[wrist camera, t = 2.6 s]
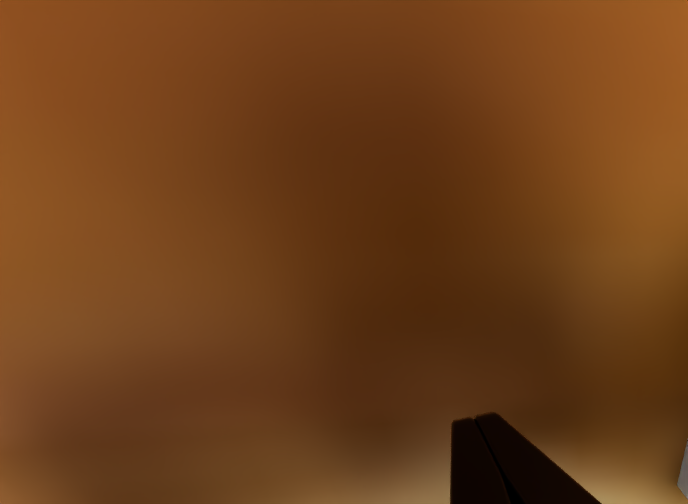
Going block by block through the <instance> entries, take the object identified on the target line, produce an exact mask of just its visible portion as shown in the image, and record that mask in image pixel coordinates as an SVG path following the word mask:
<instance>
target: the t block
mask: <svg viewBox="0 0 688 504" xmlns="http://www.w3.org/2000/svg"><path fill="white" fill-rule="evenodd" d="M677 486H678V487H679V489H680V490H681V491H682V493H683V494H684V495H685V496H686V498H687V499H688V440H687V444H686V449H685V453H684V457H683V462H682V466H681V470H680V474H679V479H678V483H677Z"/></svg>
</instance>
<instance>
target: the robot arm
mask: <svg viewBox="0 0 688 504" xmlns="http://www.w3.org/2000/svg"><path fill="white" fill-rule="evenodd" d="M450 504H601V503H600V502H599V501H598V500H597V499H596V498H595V497H593V496H592V495H591V494H590V493H589V492H588V491H586V490H585V489H584V488H583V487H582V486H581V485H580V484H578V483H577V482H576V481H575V480H574V479H573V478H571V477H570V476H569V475H568V474H567V473H566V472H565V471H563V470H562V469H561V468H560V467H559V466H558V465H556V464H555V463H554V462H553V461H552V460H551V459H550V458H548V457H547V456H546V455H545V454H544V453H543V452H541V451H540V450H539V449H538V448H537V447H536V446H534V445H533V444H532V443H531V442H530V441H529V440H528V439H526V438H525V437H524V436H523V435H522V434H521V433H519V432H518V431H517V430H516V429H515V428H514V427H513V426H511V425H510V424H509V423H508V422H507V421H506V420H504V419H503V418H502V417H501V416H500V415H499V414H497V413H495V412H489V413H484V414H480V415H476V416H475V417H474V419H473V418H472V417H466V418H461V419H457V420H453V421H452V423H451V476H450Z"/></svg>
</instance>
